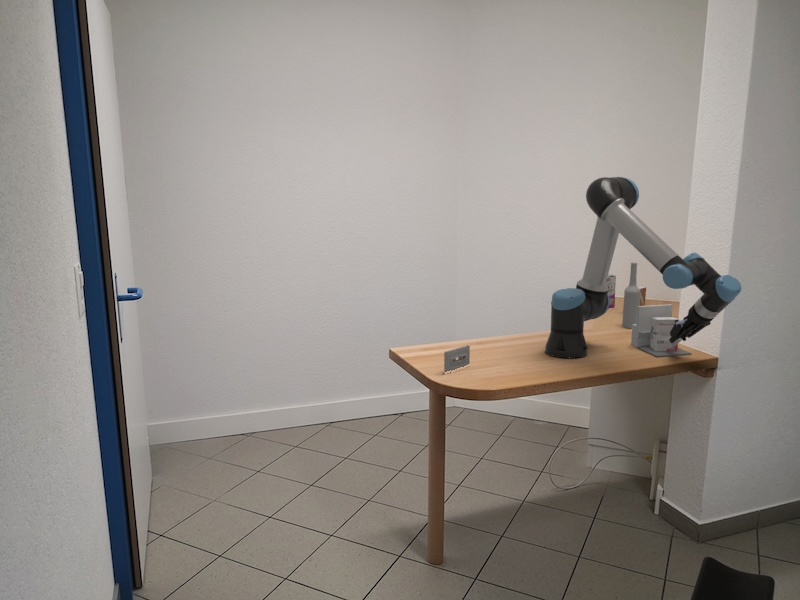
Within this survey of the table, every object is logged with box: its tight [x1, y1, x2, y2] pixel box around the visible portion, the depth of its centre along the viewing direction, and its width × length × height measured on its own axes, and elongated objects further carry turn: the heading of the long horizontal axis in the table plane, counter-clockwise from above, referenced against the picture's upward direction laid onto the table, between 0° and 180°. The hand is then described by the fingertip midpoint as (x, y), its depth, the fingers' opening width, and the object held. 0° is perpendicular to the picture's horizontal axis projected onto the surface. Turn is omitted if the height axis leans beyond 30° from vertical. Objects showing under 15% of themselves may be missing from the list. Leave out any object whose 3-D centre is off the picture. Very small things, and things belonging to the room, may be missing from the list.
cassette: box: [443, 344, 471, 372], centre depth 201 cm, size 12×2×8 cm, turn 133°
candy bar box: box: [606, 273, 617, 309], centre depth 294 cm, size 11×5×16 cm, turn 119°
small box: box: [637, 285, 647, 306], centre depth 279 cm, size 8×6×13 cm
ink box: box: [650, 317, 680, 351], centre depth 219 cm, size 9×5×12 cm, turn 88°
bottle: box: [621, 262, 640, 330], centre depth 254 cm, size 7×7×28 cm
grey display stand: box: [630, 303, 692, 358], centre depth 220 cm, size 14×18×16 cm
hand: (669, 345), depth 215 cm, fingers closed
